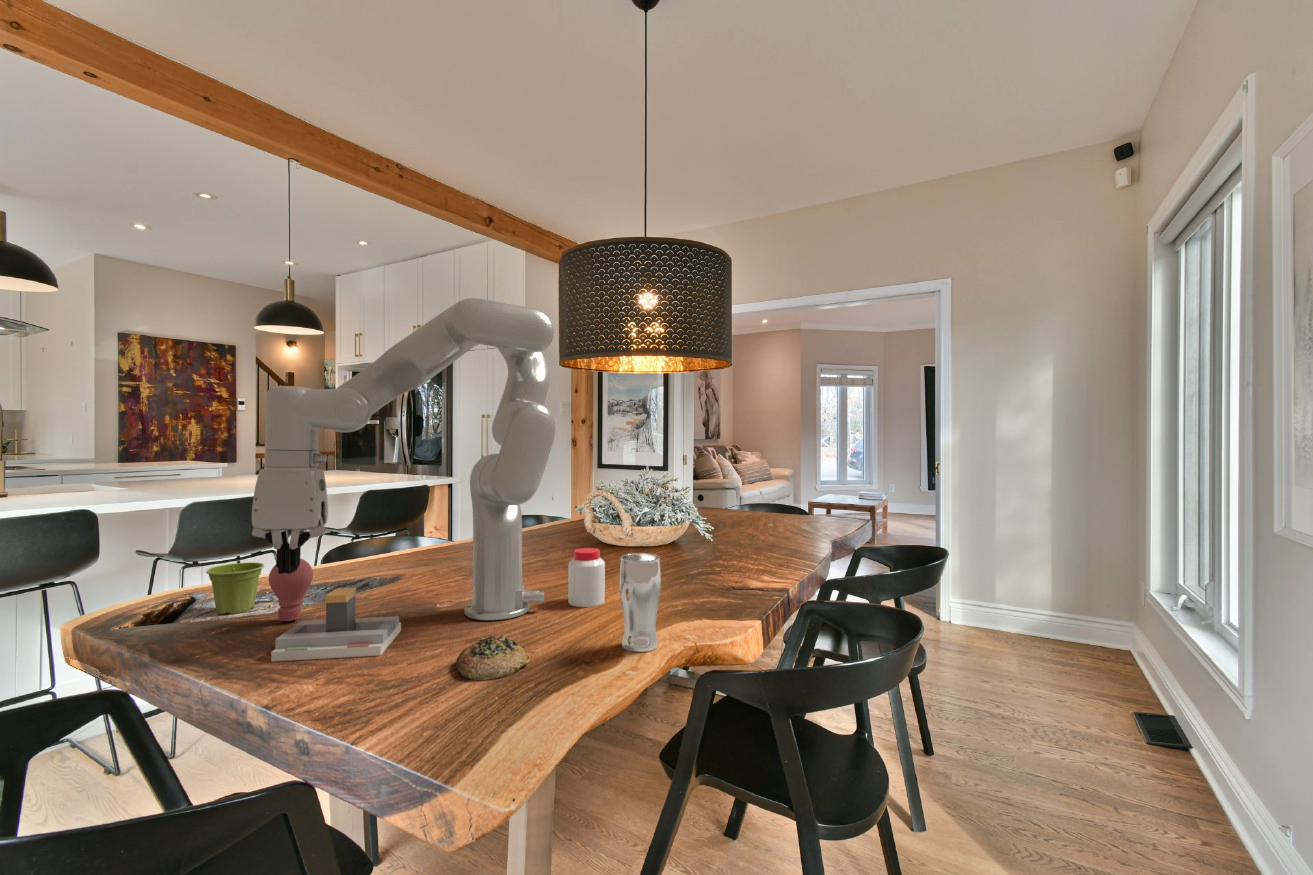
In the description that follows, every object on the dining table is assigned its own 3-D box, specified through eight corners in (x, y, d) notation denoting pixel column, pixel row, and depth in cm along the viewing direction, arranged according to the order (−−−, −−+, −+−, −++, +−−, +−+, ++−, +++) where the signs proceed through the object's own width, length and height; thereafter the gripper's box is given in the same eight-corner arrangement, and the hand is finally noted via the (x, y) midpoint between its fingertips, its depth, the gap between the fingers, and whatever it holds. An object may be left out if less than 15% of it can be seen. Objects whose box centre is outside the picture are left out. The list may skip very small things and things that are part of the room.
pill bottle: (589, 609, 117) (589, 555, 117) (560, 603, 121) (560, 551, 121) (612, 600, 124) (612, 549, 124) (584, 595, 128) (584, 545, 128)
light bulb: (321, 615, 113) (321, 554, 113) (295, 627, 105) (295, 562, 105) (287, 614, 113) (287, 553, 113) (259, 626, 106) (259, 561, 106)
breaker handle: (356, 628, 100) (356, 587, 100) (346, 638, 95) (346, 594, 95) (336, 629, 99) (336, 588, 99) (325, 639, 94) (325, 595, 94)
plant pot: (272, 608, 117) (272, 565, 117) (218, 620, 109) (218, 575, 109) (251, 601, 122) (251, 560, 122) (197, 612, 114) (197, 568, 114)
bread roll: (469, 651, 94) (473, 621, 94) (535, 661, 94) (539, 631, 94) (441, 682, 83) (445, 649, 83) (516, 695, 83) (521, 661, 83)
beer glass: (629, 656, 92) (630, 562, 92) (612, 642, 99) (613, 554, 98) (668, 649, 96) (668, 558, 96) (649, 636, 102) (649, 551, 102)
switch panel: (401, 630, 104) (401, 613, 104) (380, 655, 92) (380, 636, 92) (304, 635, 102) (304, 618, 102) (271, 661, 90) (271, 642, 90)
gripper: (348, 461, 100) (344, 566, 100) (253, 459, 98) (250, 567, 98) (331, 462, 93) (327, 576, 93) (228, 461, 91) (224, 577, 90)
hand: (288, 571), depth 95 cm, fingers closed
